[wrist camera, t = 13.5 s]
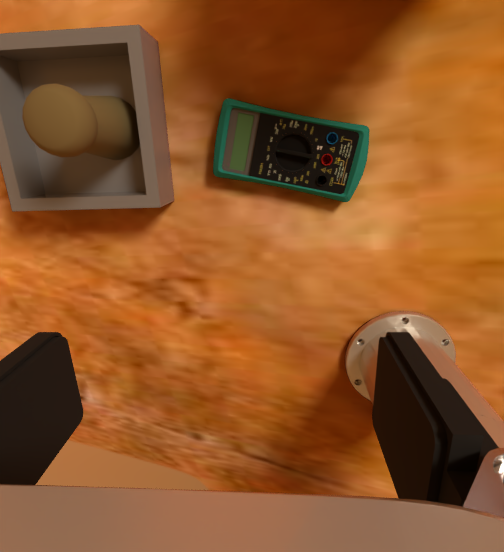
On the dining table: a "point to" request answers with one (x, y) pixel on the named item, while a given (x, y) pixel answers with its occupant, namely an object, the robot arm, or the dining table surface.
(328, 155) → the digital multimeter
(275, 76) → the dining table surface
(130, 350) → the dining table surface
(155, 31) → the dining table surface
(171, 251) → the dining table surface
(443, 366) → the robot arm
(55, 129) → the tan piece
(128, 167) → the gray square tray
